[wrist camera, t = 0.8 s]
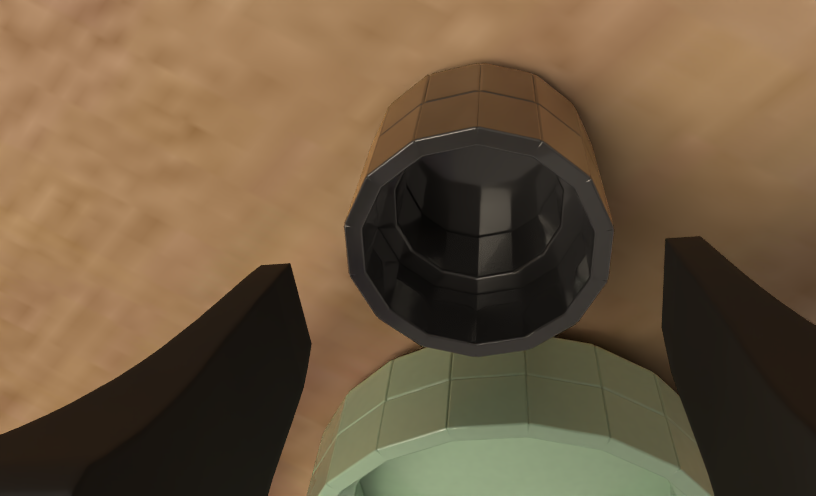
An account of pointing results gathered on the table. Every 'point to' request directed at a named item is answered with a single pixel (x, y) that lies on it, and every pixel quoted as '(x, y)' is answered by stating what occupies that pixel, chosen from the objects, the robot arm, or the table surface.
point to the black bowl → (480, 214)
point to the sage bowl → (511, 428)
